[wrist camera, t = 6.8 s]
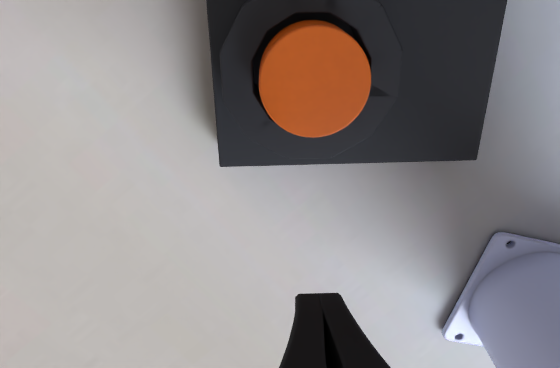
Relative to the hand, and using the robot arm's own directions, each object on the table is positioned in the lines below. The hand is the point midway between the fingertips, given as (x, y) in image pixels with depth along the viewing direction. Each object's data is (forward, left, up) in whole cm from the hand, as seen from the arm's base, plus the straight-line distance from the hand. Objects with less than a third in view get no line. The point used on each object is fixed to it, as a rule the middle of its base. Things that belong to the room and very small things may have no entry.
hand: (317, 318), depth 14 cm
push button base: (-1, -7, -10) cm, 12 cm away
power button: (+1, -6, -7) cm, 9 cm away
